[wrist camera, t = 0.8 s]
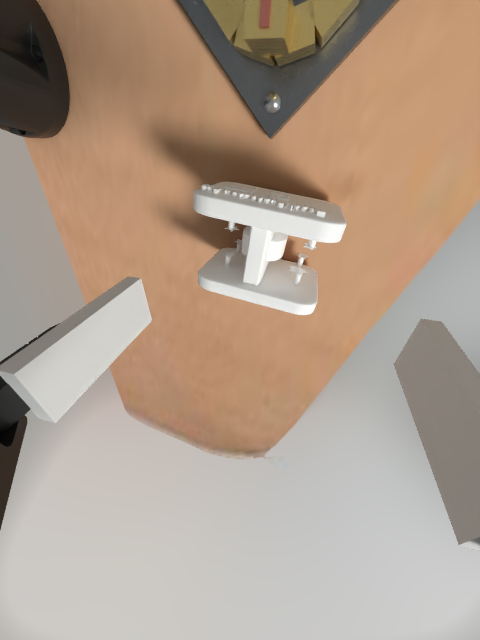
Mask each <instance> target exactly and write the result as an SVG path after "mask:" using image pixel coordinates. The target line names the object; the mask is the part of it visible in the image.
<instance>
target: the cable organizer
mask: <svg viewBox="0 0 480 640" xmlns="http://www.w3.org/2000/svg"><path fill="white" fill-rule="evenodd" d="M193 209H194V210H195V211H196V212H198V213H200V214H202V215H205V216H208V217H212V218H217V219H221V220H225V221H229V225H228V228H224V229H229V230H230V231H231V232H232V231H234V230H239V229H237V226H235V223H238V224H243V225H247V227H245V228H244V230H243V238H242V240H240V239H237V241H235V242H237V248H222V249H220V250H219V251H218V252H217V253H216V254H215V255H214V256H213V257H212V258H211V259H210V260H209V261H208V262H207V263H206V264H205V265H204V266H203V267H202V268H201V269H200V270H199V272H198V283H199V285H200V286H201V287H202V288H204V289H206V290H209V291H212V292H215V293H219V294H223V295H226V296H230V297H234V298H237V299H241V300H245V301H249V302H252V303H256V304H260V305H263V306H267V307H271V308H274V309H278V310H282V311H285V312H289V313H293V314H298V315H308V314H311V313H312V312H313V311H314V309H315V306H316V304H317V301H318V273H317V271H316V270H314V269H313V268H311V267H309V266H306V265H303V264H302V263H303V260H304V259H305V258H306V257H309V256H307V255H306V253H303V254H302V253H299V252H298V253H299V255H298V257H299V259H298V262H297V263H295V262H290V261H286V260H282V259H280V258H281V257H282V256H283V253H284V250H285V246H286V242H287V238H288V235H291V236H295V237H300V238H304V239H309V240H310V241H309V244H307V243H305V245H306V246H304V247H306V248H310V249H311V250H312V251H313V249H314V248H317V247H315V244H316V241H318V242H325V243H336V242H339V241H340V240H341V237H342V235H343V232H344V230H345V227H346V225H347V222H346V220H345V217H344V214H343V212H342V209H341V207H340V206H338V205H336V204H334V203H331V202H328V201H324V200H319V199H315V198H310V197H305V196H300V195H295V194H290V193H285V192H280V191H276V190H271V189H266V188H261V187H256V186H251V185H246V184H241V183H236V182H220V183H217V184H213V185H209V184H202V186H201V188H200V189H197V190H195V191H194V198H193ZM241 248H242V249H241Z"/></svg>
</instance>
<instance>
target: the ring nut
mask: <svg viewBox="0 0 480 640" xmlns="http://www.w3.org/2000/svg"><path fill="white" fill-rule="evenodd" d="M203 1H204V2H205V4H206V5H207V7H208V8H209V10H210V12H211V13H212V15H213V16H214V18H215V20H216V21H217V23H218V24H219V26H220V27H221V29H222V31H223V32H224V34H225V35H226V37H227V38H228V40H229V41H230V43H231V44H232V45H233V46H234V48H235V49H236V50H238V51H239V52H240V53H241V55H244V56H246V57H249V58H251V59H254V60H256V61H259V62H262V63H264V64H267V65H269V66H272V67H273V66H274V63H275V60H276V62H277V64H278V66H279V67H280V66H283V65H286V64H288V63H291V62H293V61H296V60H299V59H301V58H304V57H306V56H309V55H312V54H314V53H315V37H316V39H317V41H318V43H319V45H320V46H321V48H322V47H323V46H324V45H325V44H326V43H327V41H328V40H329V39H330V38H331V37H332V35H333V34H334V33H335V32H336V31H337V30H338V28H339V27H340V26H341V25H342V24H343V22H344V21H345V20H346V19H347V18H348V16H349V15H350V14H351V13H352V12H353V11H354V9H355V8H356V7H357V6H358V4H359V0H307V1H305V2H303V3H301V4H299V5H297V6H294V3H293V0H245V1H244V0H203Z"/></svg>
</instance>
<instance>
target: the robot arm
mask: <svg viewBox="0 0 480 640" xmlns="http://www.w3.org/2000/svg"><path fill="white" fill-rule="evenodd" d="M68 110H69V83H68V76H67V71H66V67H65V63H64V59H63V56H62V52H61V49H60V47H59V44H58V41H57V39H56V36H55V34H54V32H53V29H52V27H51V25H50V23H49V21H48V19H47V18H46V16H45V14H44V12H43V10H42V9H41V7H40V6H39V4H38V2H37V1H36V0H0V128H1V129H3V130H6V131H9V132H11V133H14V134H16V135H19V136H23V137H28V138H50V137H52V136H54V135H56V134H57V133H58V132H59V131H60V130H61V129H62V127H63V126H64V124H65V122H66V119H67V115H68ZM151 321H152V319H151V315H150V311H149V307H148V303H147V300H146V296H145V292H144V288H143V284H142V280H141V278H136V277H129V276H128V277H126V278H125V279H124V280H122V281H121V282H119V283H118V284H116V285H115V286H114V287H112V288H111V289H109V290H108V291H106V292H105V293H103V294H102V295H101V296H99V297H98V298H96V299H95V300H93V301H92V302H90V303H89V304H88V305H86V306H85V307H83V308H82V309H80V310H79V311H78V312H76V313H75V314H73V315H72V316H70V317H69V318H67V319H66V320H65V321H63V322H62V323H60V324H58V325H55V326H53V327H51V328H49V329H48V330H46V331H45V332H43V333H42V334H40V335H39V336H38V338H37V337H36V338H34V339H33V340H31V341H30V342H29V344H26V345H24V346H23V347H21V348H20V349H18V350H17V351H16V352H14V353H13V354H11V355H10V356H8V357H7V358H5V359H4V360H2V361H1V362H0V529H1V525H2V520H3V517H4V513H5V509H6V505H7V501H8V497H9V493H10V489H11V485H12V481H13V477H14V473H15V469H16V465H17V461H18V457H19V453H20V449H21V445H22V442H23V438H24V433H25V430H26V426H27V417H26V416H25V414H26V413H27V412H28V411H29V410H30V409H31V410H32V411H33V412H34V414H35V415H36V416H37V417H38V418H40V419H43V420H46V421H49V422H53V423H56V422H57V421H58V420H59V419H60V418H61V417H62V416H63V415H64V413H65V412H66V411H67V410H68V409H69V408H70V407H71V406H72V405H73V404H74V403H75V402H76V401H77V400H78V398H80V396H81V395H82V394H83V393H84V392H85V391H86V390H87V389H88V388H89V387H90V386H91V385H92V384H93V383H94V382H95V381H96V379H97V378H98V377H99V376H100V375H101V374H102V373H103V372H104V371H105V370H106V369H107V368H108V367H109V366H110V365H111V363H112V362H113V361H114V360H115V359H116V358H117V357H118V356H119V355H120V354H121V353H122V352H123V351H124V350H125V349H126V348H127V346H128V345H129V344H130V343H131V342H132V341H133V340H134V339H135V338H136V337H137V336H138V335H139V334H140V333H141V332H142V330H143V329H144V328H145V327H146V326H147V325H148V324H149V323H150V322H151ZM394 366H395V369H396V371H397V374H398V377H399V380H400V383H401V385H402V388H403V391H404V394H405V397H406V399H407V402H408V405H409V408H410V411H411V413H412V416H413V419H414V421H415V424H416V427H417V430H418V433H419V435H420V438H421V441H422V444H423V447H424V449H425V452H426V455H427V458H428V460H429V463H430V466H431V469H432V472H433V474H434V477H435V480H436V482H437V485H438V488H439V491H440V494H441V497H442V499H443V502H444V505H445V508H446V510H447V513H448V516H449V519H450V521H451V524H452V527H453V530H454V533H455V535H456V538H457V541H458V544H459V545H461V546H464V547H467V548H471V549H474V550H477V551H480V374H479V373H478V371H477V370H476V368H475V367H474V366H473V364H472V363H471V361H470V360H469V359H468V358H467V356H466V355H465V353H464V352H463V350H462V349H461V348H460V346H459V345H458V344H457V342H456V341H455V339H454V338H453V337H452V335H451V334H450V332H448V330H447V328H446V327H445V325H444V324H443V323H442V322H440V321H432V320H425V319H421V320H420V321H419V323H418V325H417V326H416V328H415V330H414V331H413V333H412V335H411V336H410V338H409V340H408V342H407V343H406V345H405V347H404V348H403V350H402V352H401V353H400V355H399V357H398V358H397V360H396V362H395V363H394Z"/></svg>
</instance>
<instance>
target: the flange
mask: <svg viewBox="0 0 480 640" xmlns="http://www.w3.org/2000/svg"><path fill="white" fill-rule="evenodd" d="M244 1H245V0H244ZM305 1H307V0H293V3H294V6H297V5H299V4H301V3H303V2H305ZM398 1H399V0H359V4H358V6H357V7H356V8H355V9H354V11H353V12H352V13H351V14H350V15H349V16H348V18H347V19H346V20H345V21H344V22H343V24H342V25H341V26H340V27H339V28H338V30H337V31H336V32H335V33H334V34H333V35H332V37H331V38H330V39H329V40H328V41H327V43H326V44H325V45H324V46H323V47H322V48H321V46H320V45H319V43H318V41H317V39H316V37H315V53H314V54H312V55H309V56H306V57H304V58H301V59H299V60H296V61H293V62H291V63H288V64H286V65H283V66H280V67H279V66H278V64H277V62H276V60H275V63H274V66H273V67H272V66H269V65H267V64H264V63H262V62H259V61H256V60H254V59H251V58H249V57H246V56H244V55H241V53H240V52H239V51H238V50H236V49H235V48H234V46H233V45H232V44H231V43H230V41H229V40H228V38H227V37H226V35H225V34H224V32H223V31H222V29H221V27H220V26H219V24H218V23H217V21H216V20H215V18H214V16H213V15H212V13H211V12H210V10H209V8H208V7H207V5H206V4H205V2H204V1H203V0H179V2H180V3H181V5H182V6H183V8H184V9H185V11H186V12H187V14H188V15H189V17H190V18H191V20H192V21H193V23H194V24H195V26H196V27H197V29H198V30H199V32H200V33H201V35H202V36H203V38H204V39H205V41H206V43H207V44H208V46H209V47H210V49H211V50H212V52H213V53H214V55H215V56H216V58H217V59H218V61H219V62H220V64H221V65H222V67H223V68H224V70H225V71H226V73H227V74H228V76H229V77H230V79H231V80H232V82H233V83H234V85H235V86H236V88H237V89H238V91H239V92H240V94H241V95H242V97H243V98H244V100H245V101H246V103H247V105H248V106H249V108H250V109H251V111H252V112H253V114H254V115H255V117H256V118H257V120H258V121H259V123H260V124H261V126H262V127H263V129H264V130H265V132H266V133H267V135H268V136H269V138H271V139H272V138H273V137H274V136H275V135H276V134H277V133H278V132H279V131H280V130H281V129H282V127H283V126H284V125H285V124H286V123H287V122H288V121H289V120H290V119H291V118H292V117H293V115H294V114H295V113H296V112H297V111H298V110H299V109H300V108H301V107H302V106H303V105H304V103H305V102H306V101H307V100H308V99H309V98H310V97H311V96H312V95H313V94H314V93H315V92H316V90H317V89H318V88H319V87H320V86H321V85H322V84H323V83H324V82H325V81H326V80H327V78H328V77H329V76H330V75H331V74H332V73H333V72H334V71H335V70H336V69H337V68H338V66H339V65H340V64H341V63H342V62H343V61H344V60H345V59H346V58H347V57H348V56H349V54H350V53H351V52H352V51H353V50H354V49H355V48H356V47H357V46H358V45H359V44H360V42H361V41H362V40H363V39H364V38H365V37H366V36H367V35H368V34H369V33H370V32H371V30H372V29H373V28H374V27H375V26H376V25H377V24H378V23H379V22H380V21H381V20H382V18H383V17H384V16H385V15H386V14H387V13H388V12H389V11H390V10H391V9H392V8H393V7H394V5H395V4H396V3H397V2H398Z"/></svg>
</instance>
